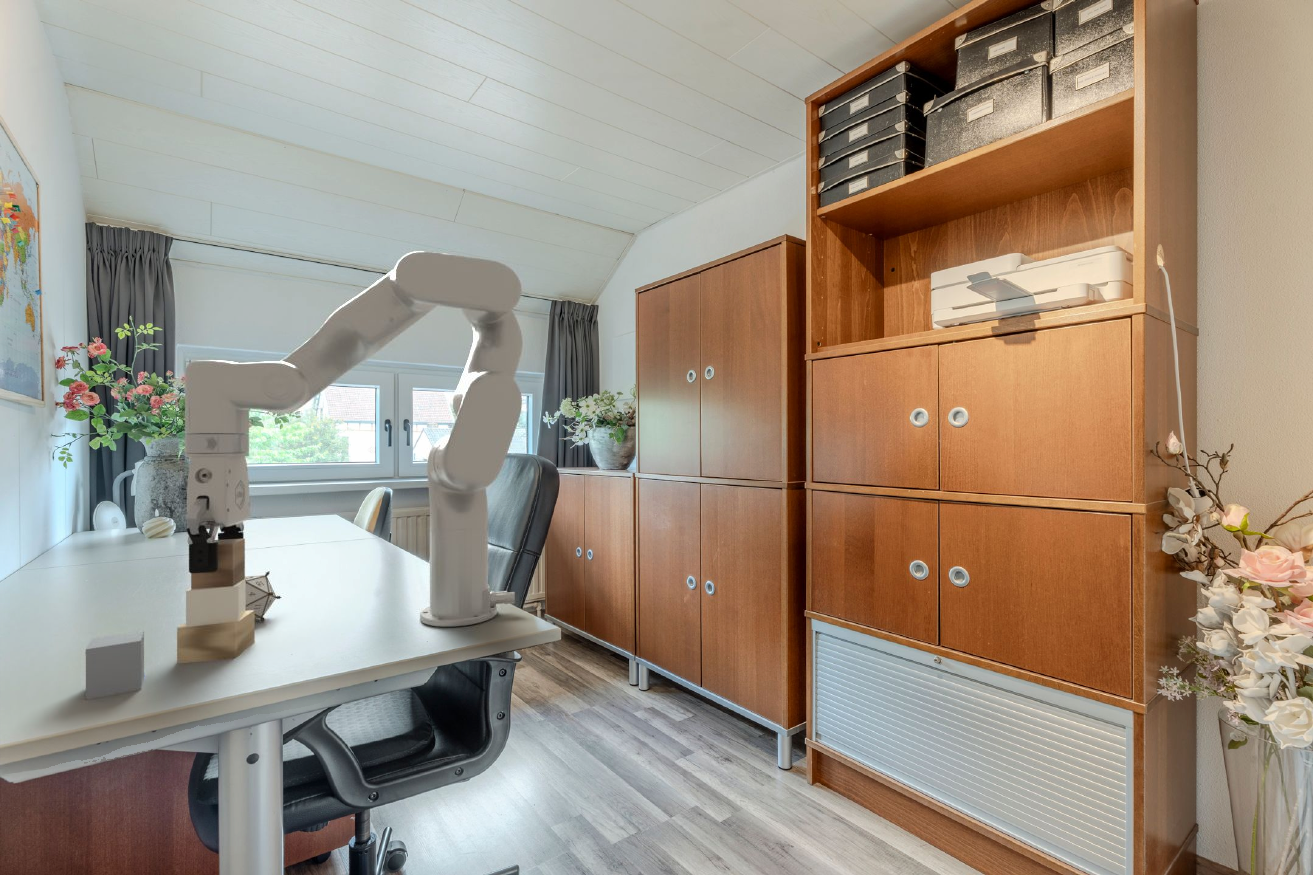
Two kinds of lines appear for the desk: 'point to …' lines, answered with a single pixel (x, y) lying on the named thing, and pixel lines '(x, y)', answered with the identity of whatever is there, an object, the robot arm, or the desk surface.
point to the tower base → (215, 640)
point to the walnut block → (224, 566)
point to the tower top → (215, 605)
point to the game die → (259, 595)
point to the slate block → (114, 664)
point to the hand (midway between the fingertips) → (217, 565)
